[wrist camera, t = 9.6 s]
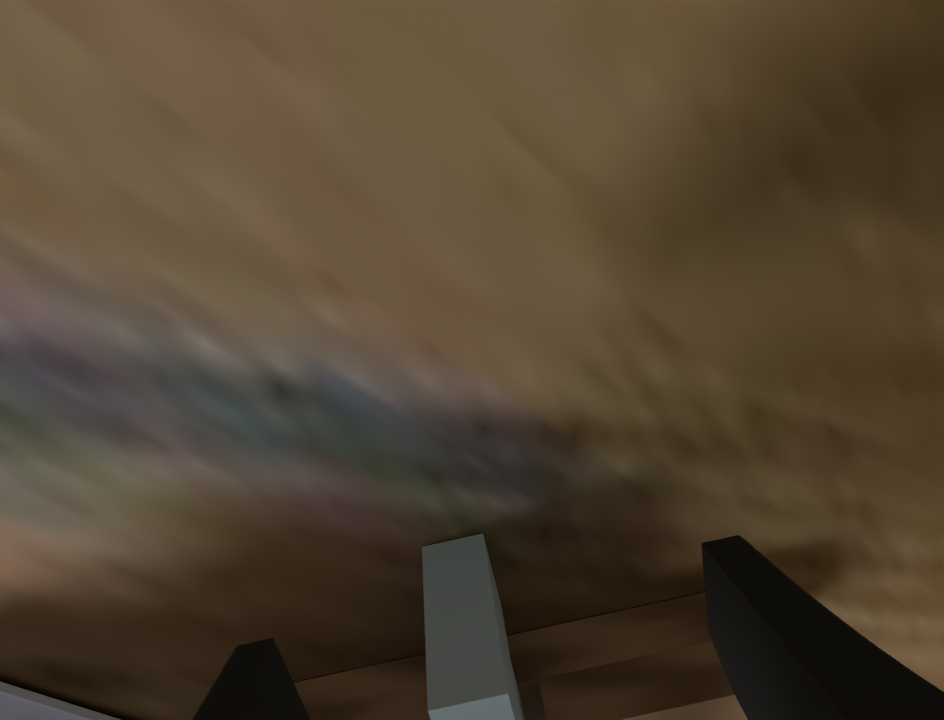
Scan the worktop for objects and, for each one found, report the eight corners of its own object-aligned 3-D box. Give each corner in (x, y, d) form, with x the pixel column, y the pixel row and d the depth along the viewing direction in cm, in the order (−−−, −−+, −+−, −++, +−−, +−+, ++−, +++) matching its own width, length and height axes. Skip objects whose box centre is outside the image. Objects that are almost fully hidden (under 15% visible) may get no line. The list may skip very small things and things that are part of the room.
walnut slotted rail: (247, 733, 26) (223, 849, 22) (228, 697, 25) (199, 811, 21) (736, 626, 26) (790, 726, 22) (734, 585, 25) (790, 682, 21)
